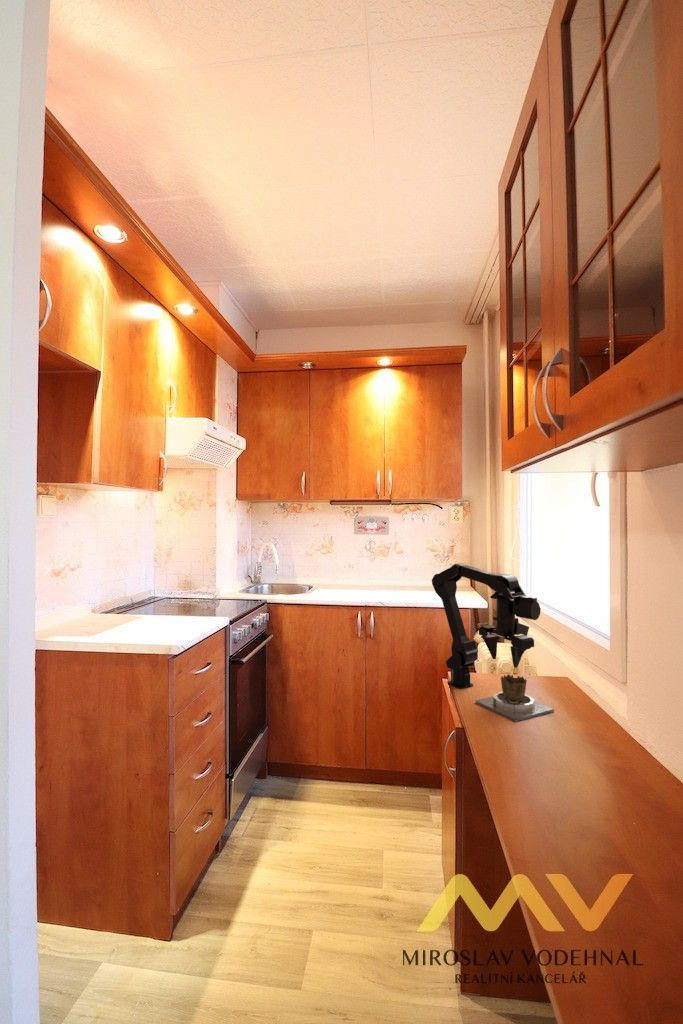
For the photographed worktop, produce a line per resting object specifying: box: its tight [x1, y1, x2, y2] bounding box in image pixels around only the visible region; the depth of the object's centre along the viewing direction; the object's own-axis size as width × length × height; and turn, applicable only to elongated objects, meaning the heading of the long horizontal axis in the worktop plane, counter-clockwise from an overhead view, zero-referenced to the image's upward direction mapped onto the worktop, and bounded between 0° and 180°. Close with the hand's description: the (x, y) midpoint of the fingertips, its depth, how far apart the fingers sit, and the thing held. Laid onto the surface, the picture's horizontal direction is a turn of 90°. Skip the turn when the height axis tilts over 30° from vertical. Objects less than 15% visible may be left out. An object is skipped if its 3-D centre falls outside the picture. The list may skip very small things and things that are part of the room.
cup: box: [500, 674, 527, 704], centre depth 146 cm, size 8×7×8 cm
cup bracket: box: [474, 691, 555, 723], centre depth 146 cm, size 16×16×3 cm
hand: (504, 663), depth 153 cm, fingers open, 9 cm apart
